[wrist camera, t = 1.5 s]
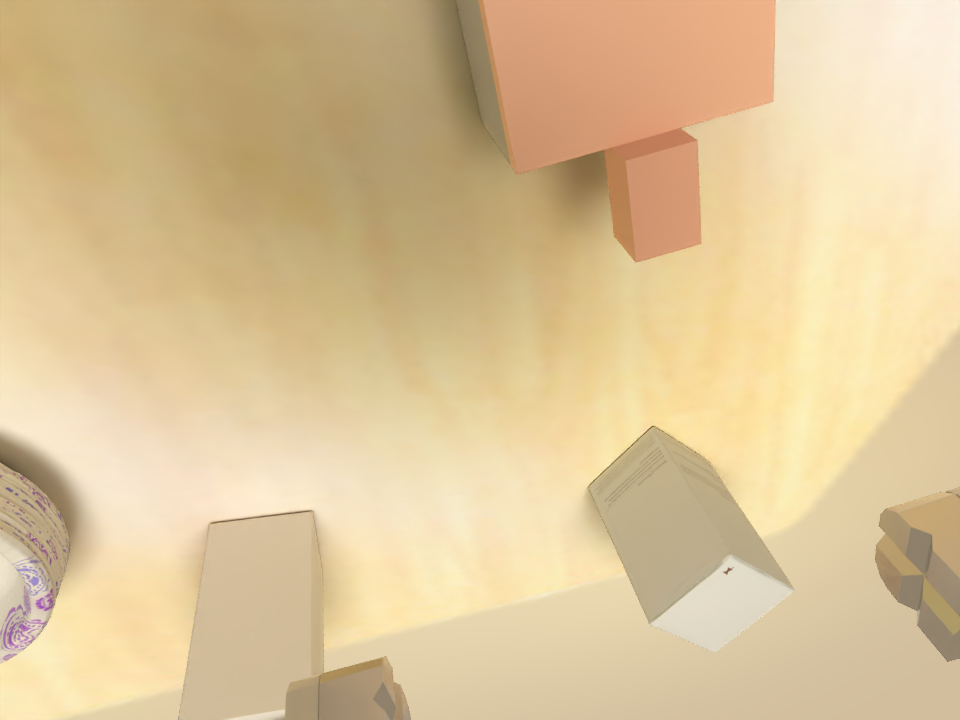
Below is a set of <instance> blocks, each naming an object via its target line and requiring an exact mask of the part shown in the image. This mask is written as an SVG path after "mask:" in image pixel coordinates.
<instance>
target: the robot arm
mask: <svg viewBox="0 0 960 720" xmlns="http://www.w3.org/2000/svg"><path fill="white" fill-rule="evenodd" d="M879 527H880V528H881V529H882V530H883V531H884V532H885V533H886V534H885V535H884V536H883V538H882V539H881V540H880V541H879V542H878V543H877V545H876V554H875V560H876V564H877V567H878V570H879V574H880V576H881V578H882V580H883V582H884V583H885V585H886V587H887V588H888V590H889V591H890V592H891V594H892V595H893V596H894V597H895V599H896V600H897V601H898V602H899V603H902V604H904V605H906V606H908V607H910V608H912V609H914V610H916V611H917V625H918V626H919V628H920V629H921V630H922V632H923V633H924V634H925V635H926V636H927V638H928V639H929V640H930V641H931V642H932V644H933V645H934V646H935V647H936V648H937V650H938V651H939V652H940V653H941V654H942V656H943V657H944V658H945V659H946V660H947V662H948V661H952V660H956V659H960V487H959V488H956V489H952V490H949V491H946V492H939V493H936V494H932V495H929V496H926V497H923V498H919V499H916V500H913V501H910V502H906V503H904V504H900V505H897V506H894V507H890V508H887V509H885V510H884V511H883V513H882V514H881V516H880V522H879ZM392 672H393V671H392V667H391V665H390V663H389V661H388V659H387V657H386V656H385V657H382V658H378V659H374V660H370V661H366V662H363V663H359V664H355V665H352V666H348V667H344V668H340V669H337V670H333V671H330V672H326V673H321V674H318V675H314V676H311V677H307V678H304V679H300V680H297V681H293V682H290V684H289V687H288V690H287V693H286V703H285V720H411V717H410V712H409V707H408V704H407V701H406V698H405V695H404V692H403V691H402V688H401V686H400V685H399V684H397V683H395V682H393V673H392Z"/></svg>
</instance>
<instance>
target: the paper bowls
mask: <svg viewBox="0 0 960 720" xmlns="http://www.w3.org/2000/svg"><path fill="white" fill-rule="evenodd" d="M69 552H70V541H69V534H68V529H67V528H66V524H65V522H64V520H63V518H62V515H61V513H60V512H59V509H58V508H57V507H56V506H55V505H54V503H53V502H52V501H51V500H50V499H49V497H48V496H47V495H46V494H45V493H44V492H43V491H42V490H41V489H40V488H39V487H38V486H36V485H34V483H33V482H31V481H29V479H26V477H25V476H22V475H21V474H20V473H18V472H15V471H13V470H11V469H10V468H8V467H7V466H5V465H4V464H2V463H0V663H2V662H4V661H7V660H8V659H10V658H12V657H13V656H15V655H17V654H18V653H19V652H21V651H22V650H24V649H25V648H26V647H27V646H28V645H30V644H31V643H32V642H33V641H34V640H35V639H36V638H37V637H38V636H39V634H40V633H41V631H42V630H43V629H44V627H45V626H46V625H47V623H48V621H49V619H50V617H51V614H52V610H53V608H54V605H55V602H56V598H57V595H58V592H59V588H60V585H61V582H62V579H63V577H64V573H65V570H66V565H67V561H68V557H69Z"/></svg>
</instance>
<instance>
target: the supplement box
mask: <svg viewBox="0 0 960 720" xmlns="http://www.w3.org/2000/svg"><path fill="white" fill-rule="evenodd" d="M589 491H590V493H591V495H592V497H593V500H594V502H595V504H596V507H597V509H598V511H599V513H600V515H601V518H602V520H603V522H604V524H605V526H606V529H607V531H608V533H609V535H610V537H611V540H612V542H613V544H614V546H615V549H616V551H617V553H618V555H619V557H620V559H621V562H622V564H623V566H624V568H625V571H626V573H627V575H628V577H629V579H630V581H631V584H632V586H633V588H634V590H635V592H636V595H637V597H638V599H639V602H640V604H641V606H642V608H643V610H644V613H645V615H646V617H647V619H648V622H649V624H650V625H652V626H654V627H656V628H659V629H661V630H664V631H666V632H668V633H671V634H673V635H675V636H678V637H680V638H682V639H684V640H687V641H689V642H691V643H694V644H696V645H698V646H701V647H703V648H705V649H707V650H710V651H712V652H717V651H718V650H719V649H721V648H722V647H723V646H725V645H726V644H727V643H729V642H730V641H731V640H733V639H734V638H735V637H736V636H738V635H739V634H740V633H742V632H743V631H744V630H746V629H747V628H748V627H749V626H751V625H752V624H753V623H754V622H756V621H757V620H758V619H760V618H761V617H762V616H763V615H764V614H766V613H767V612H768V611H770V610H771V609H772V608H774V607H775V606H776V605H777V604H779V603H780V602H781V601H782V600H784V599H785V598H786V597H787V596H789V595H790V594H791V593H793V592H794V588H793V587H792V585H791V583H790V582H789V580H788V579H787V577H786V576H785V574H784V572H783V571H782V570H781V568H780V567H779V565H778V563H777V562H776V560H775V559H774V557H773V556H772V554H771V553H770V551H769V550H768V549H767V547H766V545H765V544H764V543H763V541H762V540H761V538H760V537H759V535H758V534H757V532H756V531H755V529H754V528H753V526H752V525H751V523H750V522H749V520H748V519H747V517H746V516H745V514H744V513H743V511H742V510H741V509H740V507H739V506H738V504H737V503H736V501H735V500H734V498H733V497H732V495H731V494H730V492H729V491H728V489H727V488H726V486H725V485H724V483H723V482H722V480H721V479H720V477H719V476H718V474H717V472H716V471H715V469H714V468H713V467H712V465H711V463H710V462H709V461H707V460H705V459H704V458H703V457H701V456H700V455H698V454H696V453H695V452H693V451H692V450H690V449H689V448H687V447H686V446H684V445H682V444H681V443H679V442H678V441H676V440H675V439H673V438H671V437H670V436H668V435H667V434H665V433H664V432H662V431H660V430H659V429H657V428H656V427H652V428H651V429H650V430H648V431H647V432H646V433H645V434H644V435H643V436H642V437H641V438H640V439H639V440H638V441H636V442H635V443H634V444H633V445H632V446H631V447H630V448H629V449H628V450H627V451H626V452H625V453H624V454H623V455H621V456H620V457H619V458H618V459H617V460H616V461H615V462H614V463H613V464H612V465H611V466H610V467H609V468H607V469H606V470H605V471H604V472H603V473H602V474H601V475H600V476H599V477H598V478H597V479H596V480H595V481H594V482H593V483H592V484H591V485H590V486H589Z"/></svg>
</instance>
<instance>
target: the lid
mask: <svg viewBox="0 0 960 720" xmlns="http://www.w3.org/2000/svg"><path fill="white" fill-rule="evenodd" d="M775 1H776V0H478V2H479V7H480V12H481V17H482V23H483V28H484V33H485V38H486V43H487V48H488V53H489V58H490V63H491V68H492V73H493V78H494V83H495V88H496V93H497V98H498V103H499V108H500V113H501V118H502V123H503V128H504V133H505V138H506V143H507V148H508V153H509V158H510V164H511V167H512V168H513V170H514V171H515V173H516V174H521V173H524V172H528V171H531V170H535V169H538V168H542V167H545V166H549V165H553V164H556V163H560V162H563V161H567V160H570V159H574V158H577V157H581V156H584V155H588V154H591V153H595V152H598V151H602V150H604V154H605V162H606V171H607V179H608V188H609V196H610V204H611V213H612V221H613V230H614V236H615V238H616V239H617V240H618V241H619V243H620V244H621V245H622V246H623V247H624V249H625V250H626V251H627V252H628V253H629V255H630V256H631V257H632V258H633V260H634V261H635V262H640V261H643V260H647V259H650V258H654V257H657V256H660V255H664V254H667V253H671V252H674V251H678V250H681V249H685V248H688V247H692V246H695V245H698V244H701V221H700V196H699V171H698V146H697V140H696V139H695V138H693V137H692V136H690V135H689V134H687V133H686V132H685V131H683V130H682V129H680V128H682V127H686V126H689V125H693V124H696V123H700V122H704V121H707V120H711V119H714V118H718V117H721V116H725V115H728V114H732V113H735V112H739V111H742V110H746V109H749V108H753V107H756V106H760V105H763V104H767V103H770V102H773V90H774V46H775Z"/></svg>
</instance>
